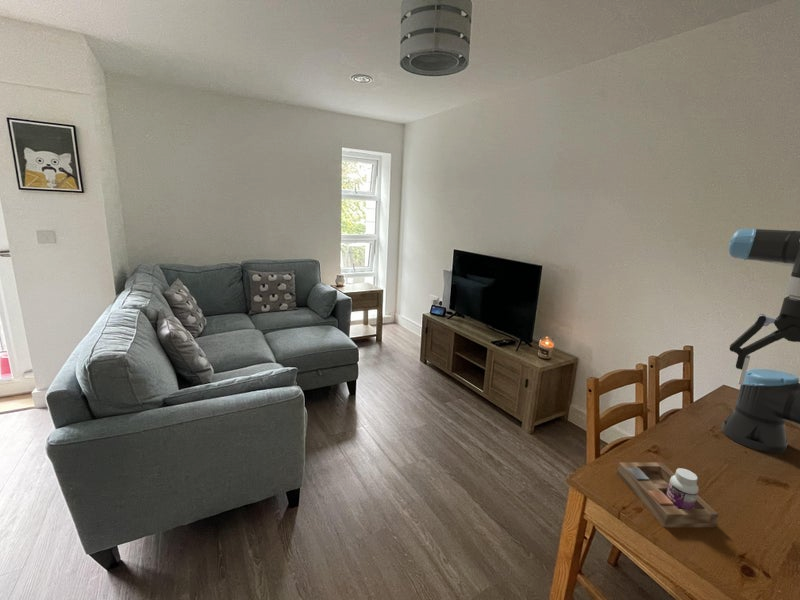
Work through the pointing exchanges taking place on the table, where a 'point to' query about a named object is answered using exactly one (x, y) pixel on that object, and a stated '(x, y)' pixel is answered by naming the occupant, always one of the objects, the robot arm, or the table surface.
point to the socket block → (663, 495)
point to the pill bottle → (683, 489)
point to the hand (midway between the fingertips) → (782, 393)
